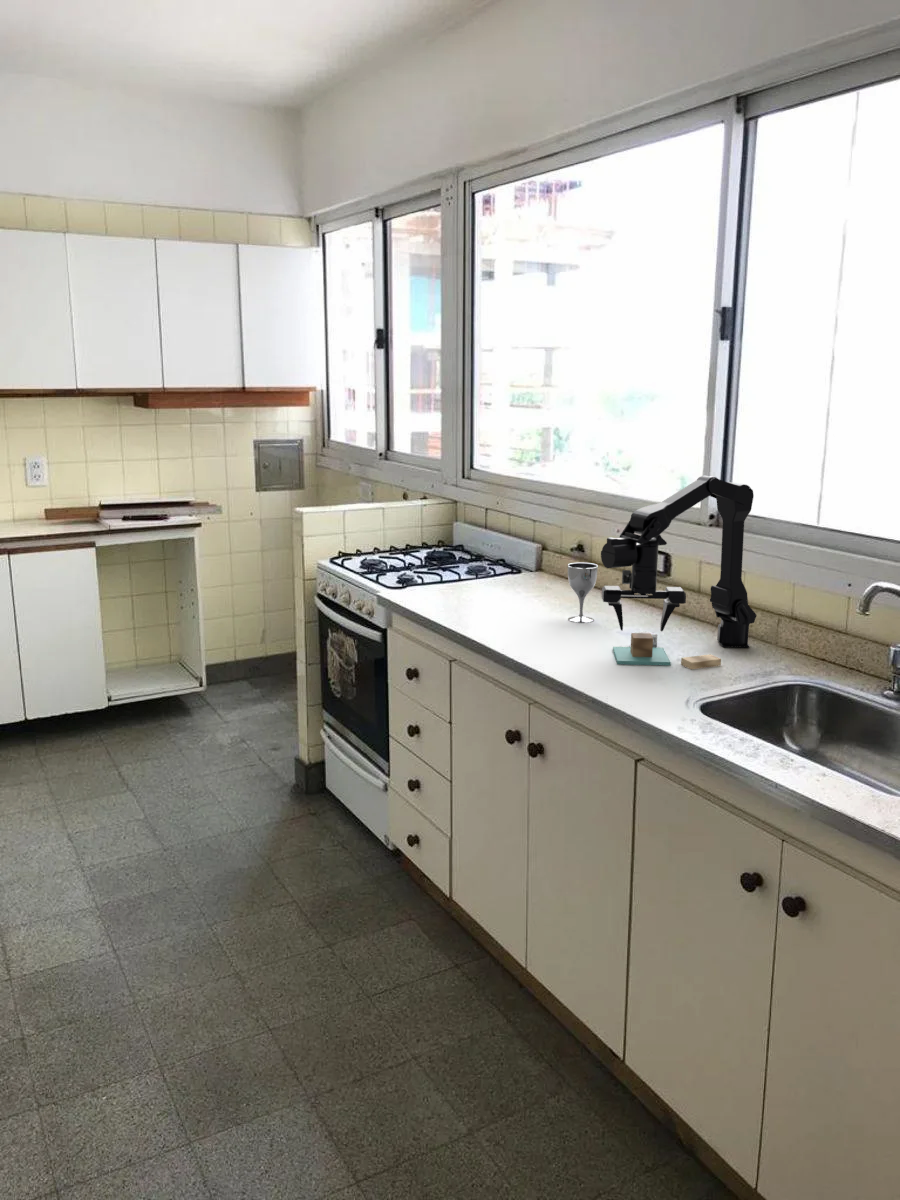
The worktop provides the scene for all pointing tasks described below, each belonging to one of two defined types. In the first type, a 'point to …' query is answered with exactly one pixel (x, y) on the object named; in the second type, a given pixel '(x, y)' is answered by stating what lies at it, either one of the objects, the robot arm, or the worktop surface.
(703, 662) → the beech slab
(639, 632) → the metal tin
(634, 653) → the walnut block
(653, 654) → the plate
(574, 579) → the wine glass
